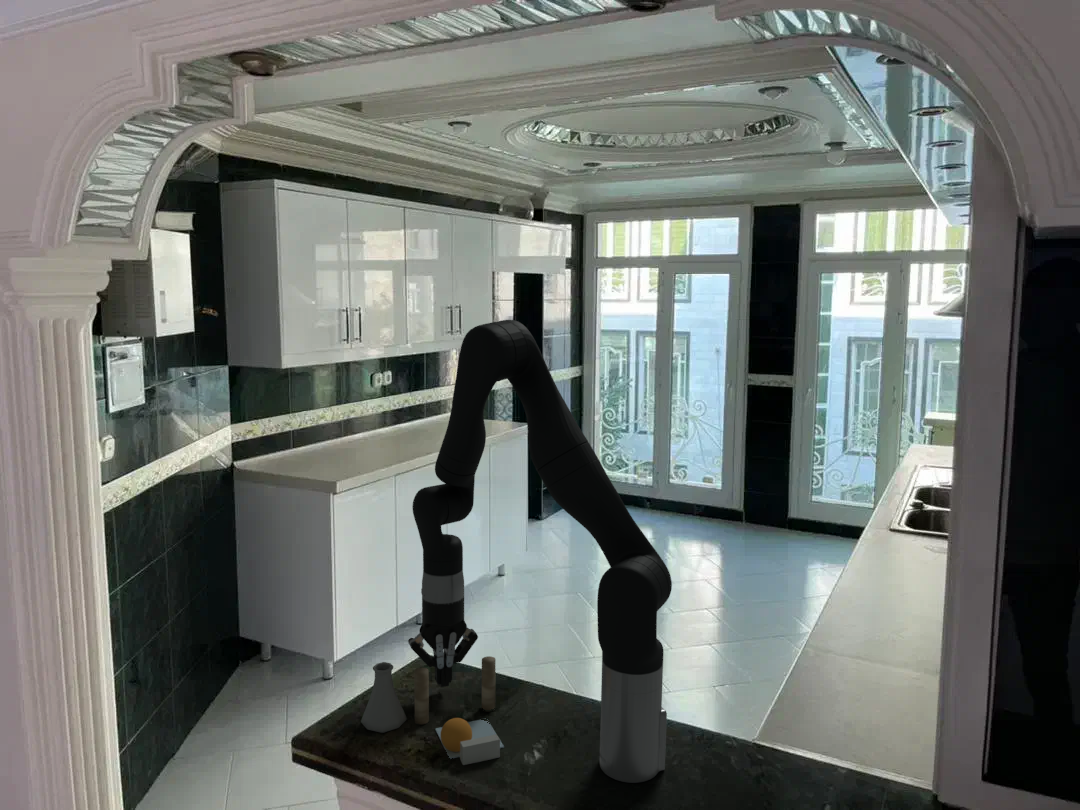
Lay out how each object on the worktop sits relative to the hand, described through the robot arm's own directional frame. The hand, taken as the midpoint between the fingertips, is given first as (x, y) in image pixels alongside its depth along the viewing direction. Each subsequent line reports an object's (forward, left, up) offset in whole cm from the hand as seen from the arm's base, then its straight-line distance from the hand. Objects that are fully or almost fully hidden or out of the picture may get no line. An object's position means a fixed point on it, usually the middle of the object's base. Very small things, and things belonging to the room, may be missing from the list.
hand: (443, 684), depth 144 cm
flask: (+12, +6, -2) cm, 14 cm away
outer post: (+6, +8, -2) cm, 10 cm away
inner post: (-6, +8, -2) cm, 10 cm away
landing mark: (0, +16, -2) cm, 16 cm away
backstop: (0, +22, -2) cm, 22 cm away
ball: (+3, +18, +1) cm, 19 cm away
